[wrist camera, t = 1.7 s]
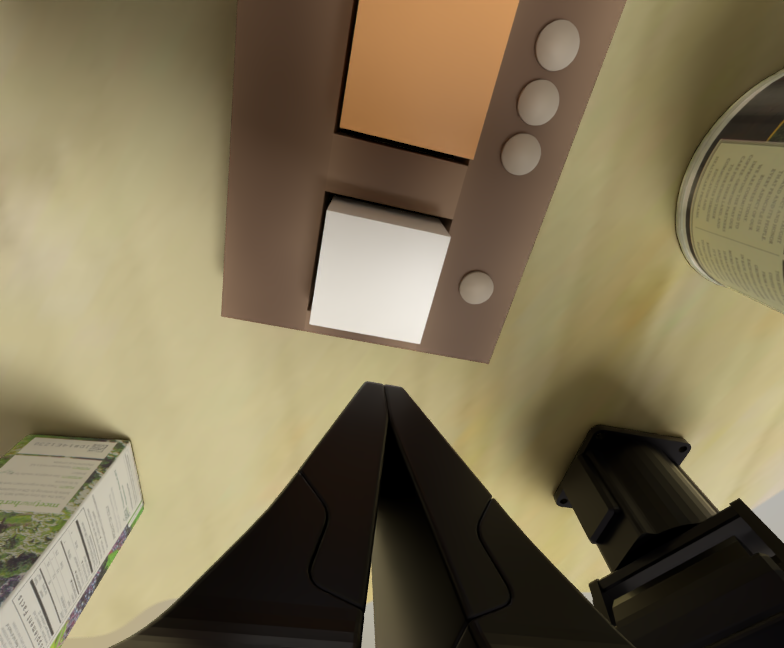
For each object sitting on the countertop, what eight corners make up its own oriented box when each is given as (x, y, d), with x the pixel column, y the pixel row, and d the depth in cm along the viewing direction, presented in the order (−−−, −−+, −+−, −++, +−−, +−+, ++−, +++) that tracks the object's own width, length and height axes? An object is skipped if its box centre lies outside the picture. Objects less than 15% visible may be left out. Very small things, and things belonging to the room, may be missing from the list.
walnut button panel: (678, -250, 13) (765, -355, 10) (474, 333, 22) (489, 366, 19) (292, -408, 11) (265, -587, 9) (241, 290, 20) (219, 318, 17)
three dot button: (493, 19, 14) (520, -4, 12) (456, 153, 16) (473, 159, 14) (368, -18, 14) (366, -51, 11) (345, 125, 16) (339, 126, 13)
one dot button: (438, 218, 17) (450, 237, 15) (413, 312, 19) (419, 344, 16) (334, 195, 17) (326, 210, 14) (318, 294, 19) (309, 324, 16)
